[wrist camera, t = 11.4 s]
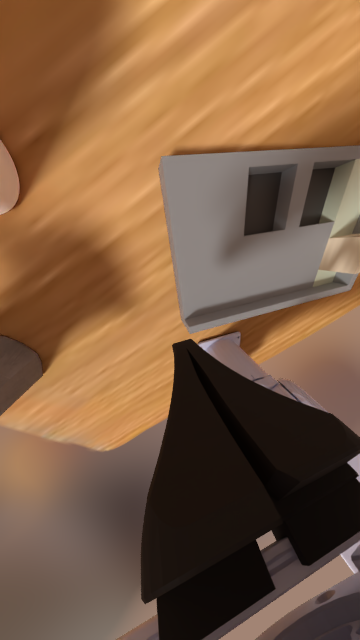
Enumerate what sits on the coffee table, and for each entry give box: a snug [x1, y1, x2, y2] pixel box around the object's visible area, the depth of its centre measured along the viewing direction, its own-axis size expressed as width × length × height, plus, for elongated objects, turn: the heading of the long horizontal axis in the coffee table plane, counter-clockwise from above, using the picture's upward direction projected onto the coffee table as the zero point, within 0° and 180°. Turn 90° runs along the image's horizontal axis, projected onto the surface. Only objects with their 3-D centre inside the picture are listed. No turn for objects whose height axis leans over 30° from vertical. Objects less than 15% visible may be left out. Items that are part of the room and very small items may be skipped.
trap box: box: [158, 145, 360, 334], centre depth 17 cm, size 16×26×4 cm, turn 97°
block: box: [318, 234, 360, 274], centre depth 18 cm, size 4×4×4 cm
